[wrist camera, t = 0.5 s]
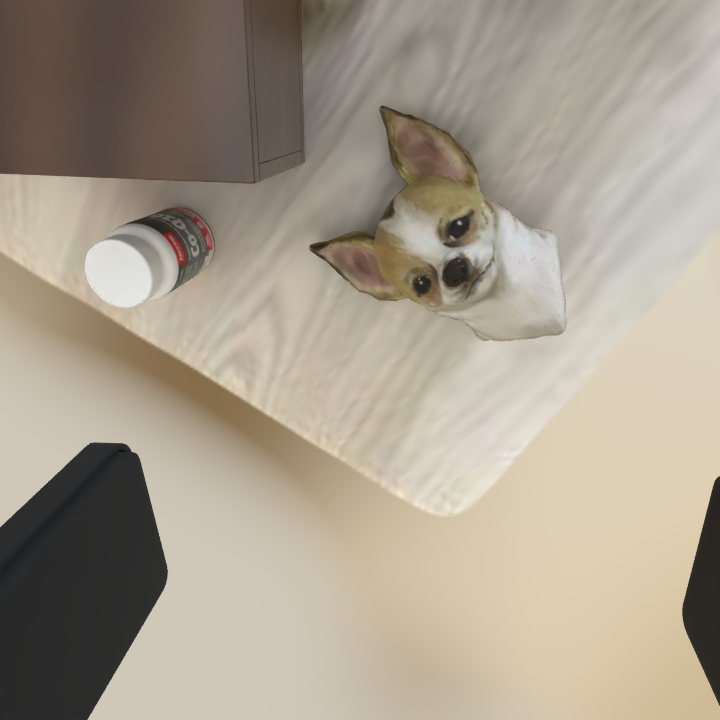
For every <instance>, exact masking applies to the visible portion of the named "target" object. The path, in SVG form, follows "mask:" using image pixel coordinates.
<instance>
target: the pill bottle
mask: <svg viewBox="0 0 720 720" xmlns="http://www.w3.org/2000/svg"><path fill="white" fill-rule="evenodd" d="M213 252H214V241H213V237H212V234H211V232H210V230H209V228H208V226H207V225H206V224H205V222H204V221H203V220H202V219H201V218H200V217H199V216H198V215H196V214H195V213H193V212H191V211H189V210H186V209H182V208H170V209H165V210H163V211H160V212H157V213H155V214H152V215H150V216H147V217H144V218H141V219H138V220H135V221H132V222H130V223H126V224H125V225H122V226H120V227H118V228H116V229H115V230H114V231H112V232H111V233H110V234H109V235H108V237H107V238H106V239H104V240H102V241H99V242H98V243H96V244H95V245H93V246H92V247H91V249H90V250H89V252H88V254H87V256H86V260H85V272H86V276H87V279H88V282H89V284H90V286H91V287H92V289H93V290H94V291H95V293H96V294H97V295H98V296H99V297H100V298H102V299H103V300H104V301H106V302H107V303H109V304H111V305H114V306H117V307H122V308H130V307H135V306H138V305H140V304H141V303H143V302H145V301H153V300H157V299H159V298H162V297H163V296H165V295H167V294H169V293H170V292H171V291H173V290H174V289H176V288H177V287H179V286H181V285H182V284H184V283H185V282H187V281H188V280H190V279H191V278H193V277H194V276H196V275H197V274H199V273H200V272H201V271H203V270H204V269H205V268H206V267H207V266H208V265H209V263H210V261H211V259H212V257H213Z"/></svg>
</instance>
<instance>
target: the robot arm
mask: <svg viewBox="0 0 720 720" xmlns="http://www.w3.org/2000/svg"><path fill="white" fill-rule="evenodd" d="M167 574H168V570H167V564H166V560H165V556H164V553H163V549H162V545H161V541H160V537H159V533H158V529H157V525H156V521H155V517H154V513H153V509H152V505H151V502H150V497H149V493H148V489H147V486H146V482H145V478H144V474H143V470H142V466H141V462H140V459H139V457H138V455H137V454H136V453H134V452H131V449H130V448H129V447H128V446H127V445H126V444H122V443H90V444H89V445H87V446H86V447H85V448H84V449H83V450H82V451H81V452H80V453H79V454H78V455H77V456H75V457H74V458H73V459H72V460H71V461H70V462H69V463H68V464H67V465H66V466H65V467H64V468H63V469H62V470H61V471H60V472H58V473H57V474H56V475H55V476H54V477H53V478H52V479H51V480H50V481H49V482H48V483H47V484H46V485H45V486H44V487H43V488H41V489H40V491H38V492H37V493H36V494H35V495H34V496H33V497H32V498H31V499H30V500H29V501H28V502H27V503H26V504H25V505H24V506H22V508H20V509H19V510H18V511H17V512H16V513H15V514H14V515H13V516H12V517H11V518H10V519H9V520H8V521H7V522H5V524H3V525H2V526H1V527H0V720H87V719H88V718H89V716H90V714H91V713H92V711H93V709H94V707H95V706H96V704H97V702H98V701H99V699H100V697H101V695H102V694H103V692H104V690H105V689H106V687H107V685H108V684H109V682H110V680H111V679H112V677H113V675H114V673H115V672H116V670H117V668H118V667H119V665H120V663H121V662H122V660H123V658H124V656H125V655H126V653H127V651H128V650H129V648H130V646H131V644H132V643H133V641H134V639H135V638H136V636H137V634H138V633H139V631H140V629H141V627H142V626H143V624H144V622H145V620H146V619H147V617H148V615H149V614H150V612H151V610H152V608H153V607H154V605H155V604H156V602H157V600H158V598H159V597H160V595H161V593H162V591H163V590H164V587H165V585H166V581H167ZM682 610H683V611H682V612H683V613H682V614H683V622H684V626H685V629H686V632H687V635H688V637H689V639H690V641H691V643H692V646H693V648H694V650H695V652H696V654H697V657H698V659H699V661H700V663H701V665H702V668H703V670H704V672H705V674H706V677H707V679H708V681H709V683H710V685H711V688H712V690H713V692H714V694H715V696H716V699H717V701H718V703H719V705H720V476H719V477H718V478H717V479H716V480H715V483H714V486H713V489H712V493H711V497H710V501H709V505H708V509H707V513H706V517H705V521H704V525H703V528H702V532H701V536H700V540H699V544H698V548H697V552H696V556H695V560H694V564H693V568H692V572H691V575H690V579H689V583H688V587H687V591H686V596H685V599H684V603H683V609H682Z"/></svg>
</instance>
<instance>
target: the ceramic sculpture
mask: <svg viewBox="0 0 720 720" xmlns="http://www.w3.org/2000/svg"><path fill="white" fill-rule="evenodd" d="M380 114H381V117H382V119H383V122H384V124H385V127H386V130H387V137H388V144H389V150H390V156H391V161H392V164H393V166H394V167H395V169H396V170H397V172H398V173H399V174H400V176H401V177H402V178H403V179H404V180H405V181H407V183H408V184H407V187H406V188H404V189H403V190H402V191H401V192H399V193H398V194H397V195H396V196H395V198H394V199H393V200H392V201H391V203H390V204H389V206H388V207H387V209H386V211H385V213H384V215H383V216H382V218H381V220H380V222H379V224H378V227H377V230H376V233H375V238H373V237H372V236H371V235H369V234H366V233H364V232H351V233H348V234H345V235H343V236H340V237H338V238H335V239H332V240H330V241H325V242H319V243H315V244H311V245H310V247H309V250H310V251H312V252H313V253H314V254H316V255H317V256H319V257H320V258H322V259H324V260H325V261H327V262H328V263H329V264H330V265H331V266H332V267H333V268H334V269H335V270H336V271H337V272H338V273H339V274H340V275H341V276H342V277H343V278H344V279H345V280H347V281H350V283H351V285H352V286H353V287H355V288H356V289H357V290H358V291H359V292H363V293H367V294H369V295H371V296H373V297H374V298H376V299H378V300H389V301H397V300H401V299H404V298H410V299H411V300H413V301H415V302H417V303H419V304H420V305H422V306H424V307H425V308H426V309H428V310H431V311H433V312H435V313H436V314H438V315H440V316H443V317H450V318H453V319H457V320H461V321H463V322H464V323H465V324H466V325H467V326H469V327H470V328H471V329H472V330H473V331H474V333H475V334H476V336H477V337H478V338H479V339H481V340H483V341H487V340H494V341H511V340H518V339H532V338H538V337H541V336H550V335H559V334H562V333H563V332H564V331H565V328H566V315H565V314H566V299H565V295H564V291H563V285H562V277H561V268H560V258H559V246H558V238H557V236H556V235H555V234H554V233H553V232H551V231H549V230H542V229H538V228H530V227H528V226H527V225H525V224H523V223H522V222H520V221H519V220H518V219H517V218H516V217H514V216H513V215H512V213H511V211H510V210H507V209H505V208H504V207H502V206H500V205H499V204H498V203H495V202H492V201H490V200H488V199H487V198H486V197H485V196H484V195H483V194H482V193H481V191H480V187H479V182H478V173H477V170H476V167H475V165H474V163H473V161H472V159H471V156H470V154H469V152H468V151H466V150H465V149H464V148H462V147H461V146H460V145H459V144H458V143H457V142H456V141H455V140H454V139H453V138H452V136H451V135H450V134H449V133H448V132H446V131H443V130H441V129H439V128H437V127H435V126H434V125H432V124H429V123H427V122H425V121H423V120H421V119H418V118H416V117H413V116H412V115H405V114H402V113H400V112H397V111H395V110H393V109H390V108H388V107H385V106H381V107H380Z"/></svg>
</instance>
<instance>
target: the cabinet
mask: <svg viewBox="0 0 720 720" xmlns="http://www.w3.org/2000/svg"><path fill="white" fill-rule="evenodd" d="M302 163H304V124H303V80H302V37H301V0H0V174H22V175H47V176H73V177H99V178H124V179H150V180H176V181H202V182H227V183H253V184H254V183H256V182H259V181H262V180H264V179H266V178H269V177H271V176H273V175H276V174H278V173H281V172H283V171H285V170H288V169H290V168H292V167H295V166H297V165H299V164H302Z"/></svg>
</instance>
